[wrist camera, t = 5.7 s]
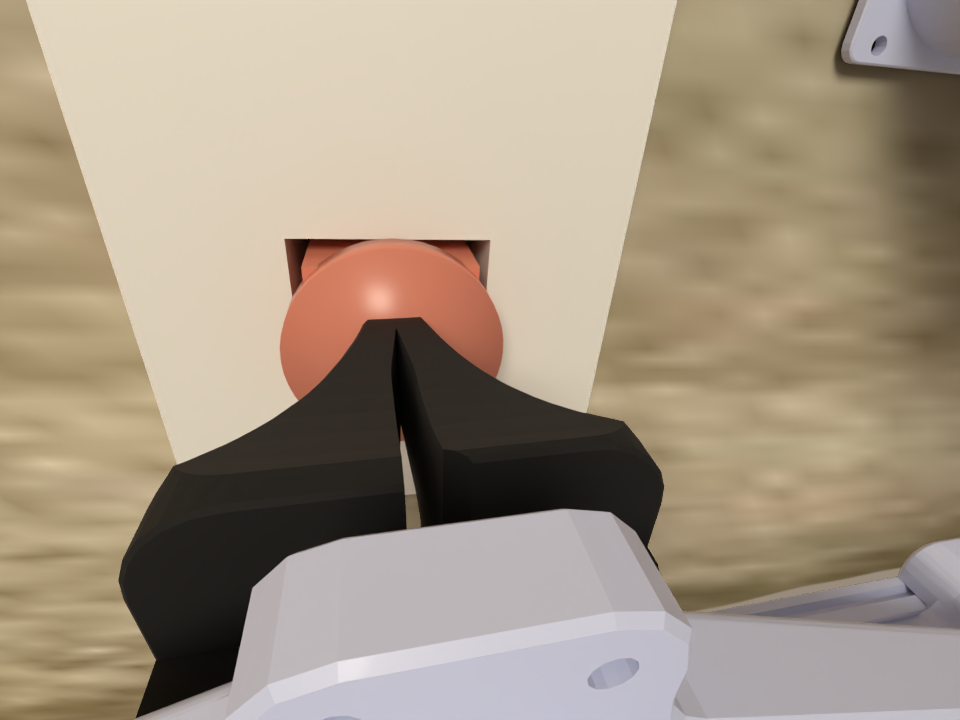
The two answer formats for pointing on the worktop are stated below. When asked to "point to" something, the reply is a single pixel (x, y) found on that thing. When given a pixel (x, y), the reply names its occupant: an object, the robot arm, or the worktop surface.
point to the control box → (352, 170)
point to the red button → (385, 302)
